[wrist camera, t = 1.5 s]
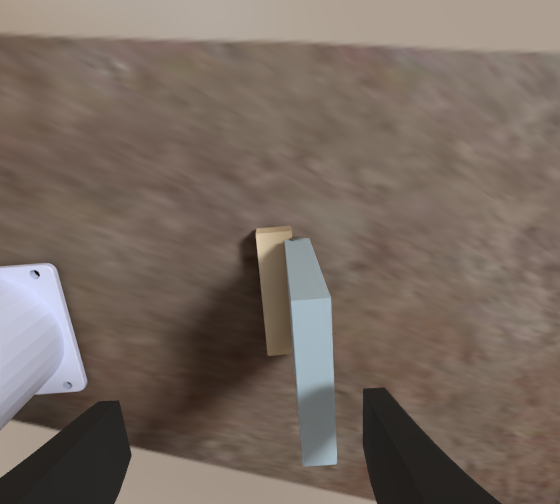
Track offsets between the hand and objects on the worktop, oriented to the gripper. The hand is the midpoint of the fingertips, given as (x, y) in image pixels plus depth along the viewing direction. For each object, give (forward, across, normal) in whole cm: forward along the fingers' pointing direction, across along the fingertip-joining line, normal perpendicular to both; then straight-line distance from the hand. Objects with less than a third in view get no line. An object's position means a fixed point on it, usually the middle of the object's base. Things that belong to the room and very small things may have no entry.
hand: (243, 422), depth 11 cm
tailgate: (+8, -2, 0) cm, 9 cm away
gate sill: (+10, -1, 0) cm, 10 cm away
